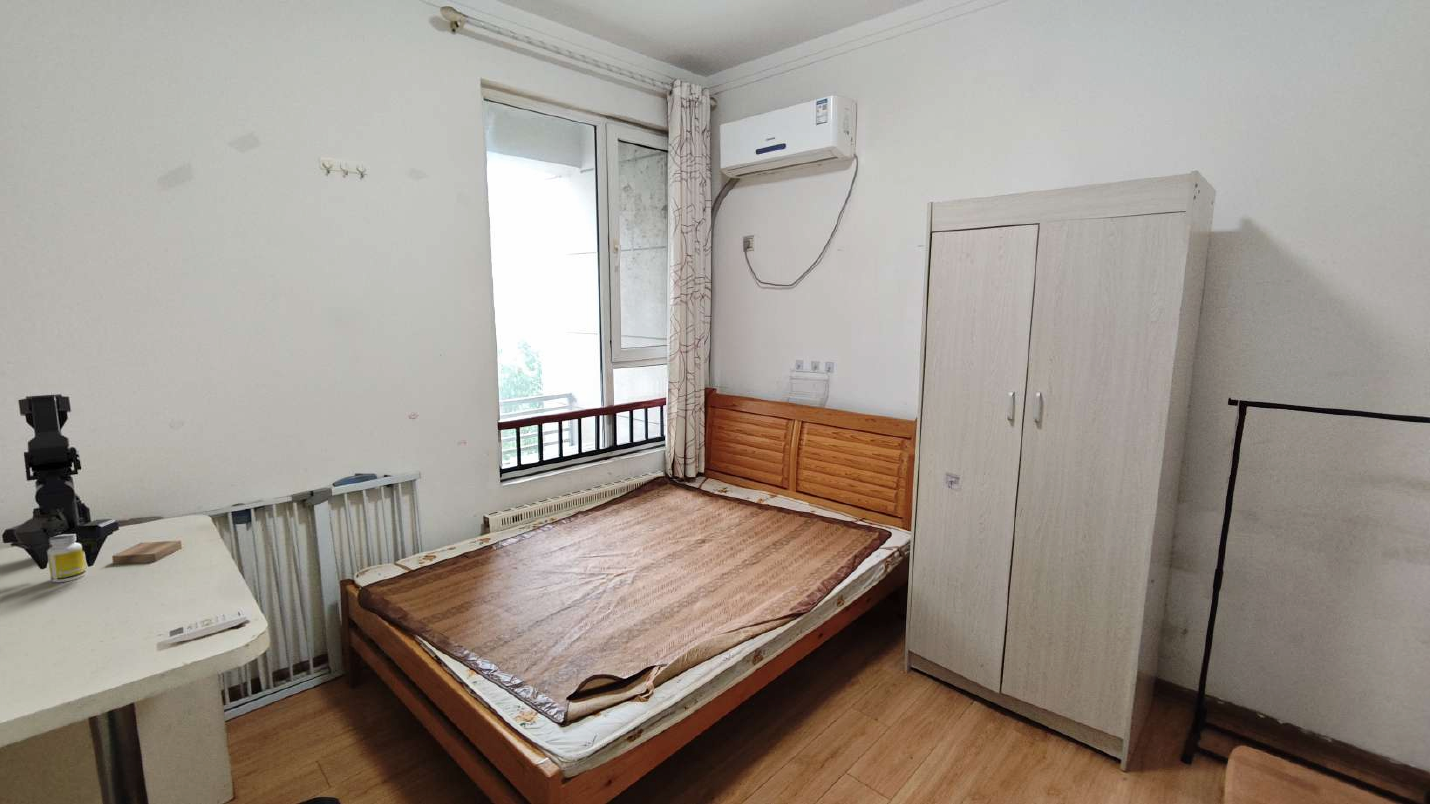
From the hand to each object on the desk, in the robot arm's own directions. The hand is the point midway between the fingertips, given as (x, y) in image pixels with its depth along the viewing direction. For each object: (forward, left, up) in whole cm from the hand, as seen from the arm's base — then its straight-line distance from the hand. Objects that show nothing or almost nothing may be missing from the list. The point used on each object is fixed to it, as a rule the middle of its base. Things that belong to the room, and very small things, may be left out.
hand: (67, 567), depth 139 cm
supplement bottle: (0, 0, -3) cm, 3 cm away
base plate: (+8, +12, -2) cm, 15 cm away
